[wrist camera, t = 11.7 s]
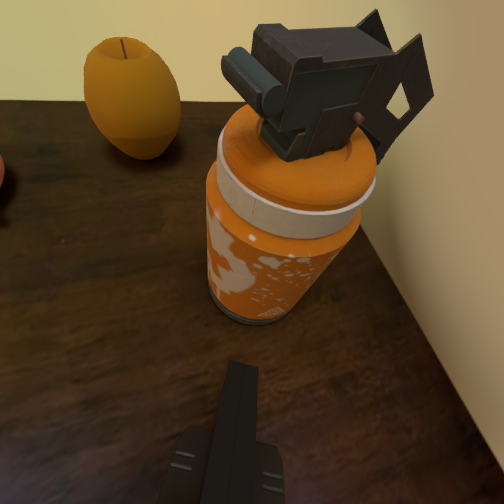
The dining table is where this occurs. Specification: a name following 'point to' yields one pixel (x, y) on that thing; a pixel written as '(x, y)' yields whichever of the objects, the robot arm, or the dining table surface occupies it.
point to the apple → (132, 97)
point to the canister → (301, 157)
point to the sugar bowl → (1, 171)
